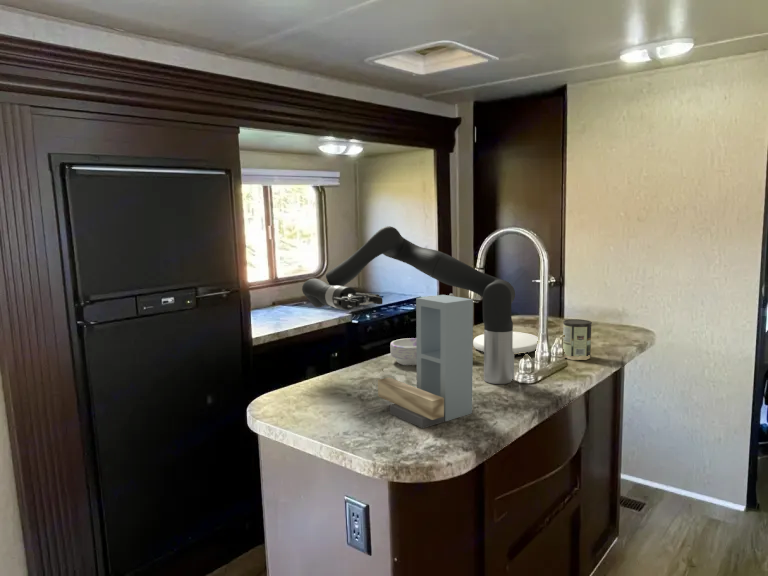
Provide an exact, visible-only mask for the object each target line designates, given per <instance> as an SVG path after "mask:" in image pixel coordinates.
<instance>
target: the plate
mask: <svg viewBox="0 0 768 576" xmlns="http://www.w3.org/2000/svg"><path fill="white" fill-rule="evenodd" d="M538 337H539V336H537V335H535V334H531V333H527V332H520V331H513V347H512V351H513V352H514V353H519V352H528V353H531V352H535V351H536V350H535V348H536V345H537V341H538ZM473 338H474V339H473V349H476V350H478V351H480V352H483V353H484V333H482V334H479V335H477V336H476V337H473Z"/></svg>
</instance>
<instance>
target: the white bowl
mask: <svg viewBox="0 0 768 576" xmlns="http://www.w3.org/2000/svg"><path fill="white" fill-rule="evenodd" d="M389 347H390V356H391V357H392V358H395V361H396V362H397V363H398V364H400V365H403V366H408V365H412V366H417V350H416V337H415V338H414V337H411V338H410V337H409V338H408V337H407V338H400V339H396V340H392V341H391V342H390V346H389Z"/></svg>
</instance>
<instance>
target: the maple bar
mask: <svg viewBox="0 0 768 576" xmlns="http://www.w3.org/2000/svg"><path fill="white" fill-rule="evenodd" d="M377 397H379V398H381V399H383V400H386V401H387V402H390V403H392V404H397V405H399V406H401V407H404V408H406V409H408V410H410V411H413V412H415V413H417V414H420V415H422V416H424V417H427V418H429V419H431V420H434V419H437V418H441V417H444V398H442V397H440V396H437V395H434V394H432V393H429V392H426V391H424V390H421V389H419V388H417V386H416V387H415V386H413V385H411V384H407V383H405V382H403V381H401V380H397V379H394V378H392V377H385V378H380V379H377Z"/></svg>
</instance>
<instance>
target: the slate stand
mask: <svg viewBox="0 0 768 576" xmlns="http://www.w3.org/2000/svg"><path fill="white" fill-rule="evenodd" d="M415 299H416V300H415V303H416V306H415V307H416V309H415V310H416V311H415V312H416V315H415V316H416V318H415V319H416V320H415V321H416V326H415V327H416V328H415V329H416V332H415V334H416V337H415V338H416V350H417V365H416V388H419V389H421V390H424V391H426V392H429V393H432V394H434V395H437V396H440V397H442V398H444V422H449V421H451V420H454V419H457V418H462V417H465V416H468V415H471V414H473V370H474V369H473V364H474V363H473V357H474V355H473V354H474V352H473V351H474V345H473V340H474V339H473V338H474V334H473V333H474V331H473V330H474V299H473V298H466V297H461V296H455V295H454V296H449V295H448V294H447V295H446V294H438V295H437V294H436V295H429V296H422V297H416V298H415Z"/></svg>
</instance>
